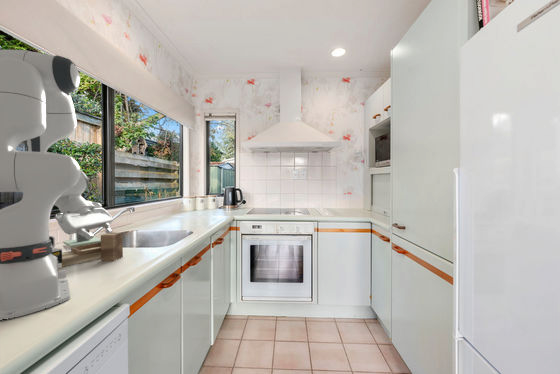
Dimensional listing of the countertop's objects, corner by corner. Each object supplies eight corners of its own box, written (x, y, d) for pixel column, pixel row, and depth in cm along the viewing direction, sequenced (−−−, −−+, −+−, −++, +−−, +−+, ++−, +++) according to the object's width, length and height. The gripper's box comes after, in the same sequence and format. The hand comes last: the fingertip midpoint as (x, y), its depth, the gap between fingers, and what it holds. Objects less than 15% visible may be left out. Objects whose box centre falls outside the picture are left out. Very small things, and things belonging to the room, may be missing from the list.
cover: (102, 241, 110) (102, 228, 110) (71, 247, 102) (70, 233, 101) (93, 238, 117) (93, 226, 117) (63, 243, 108) (63, 230, 108)
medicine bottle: (39, 275, 84) (38, 239, 83) (24, 273, 85) (22, 238, 85) (62, 268, 90) (61, 235, 90) (47, 266, 92) (46, 234, 92)
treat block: (113, 261, 97) (112, 235, 97) (101, 260, 97) (100, 235, 97) (122, 257, 102) (122, 232, 101) (111, 256, 102) (110, 232, 102)
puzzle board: (113, 255, 104) (113, 246, 104) (56, 268, 89) (55, 256, 89) (102, 250, 111) (102, 241, 111) (47, 261, 97) (47, 251, 96)
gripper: (57, 208, 90) (83, 235, 89) (103, 202, 110) (124, 225, 110) (46, 220, 90) (72, 247, 90) (93, 212, 111) (115, 235, 110)
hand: (101, 235), depth 100 cm, fingers open, 8 cm apart
